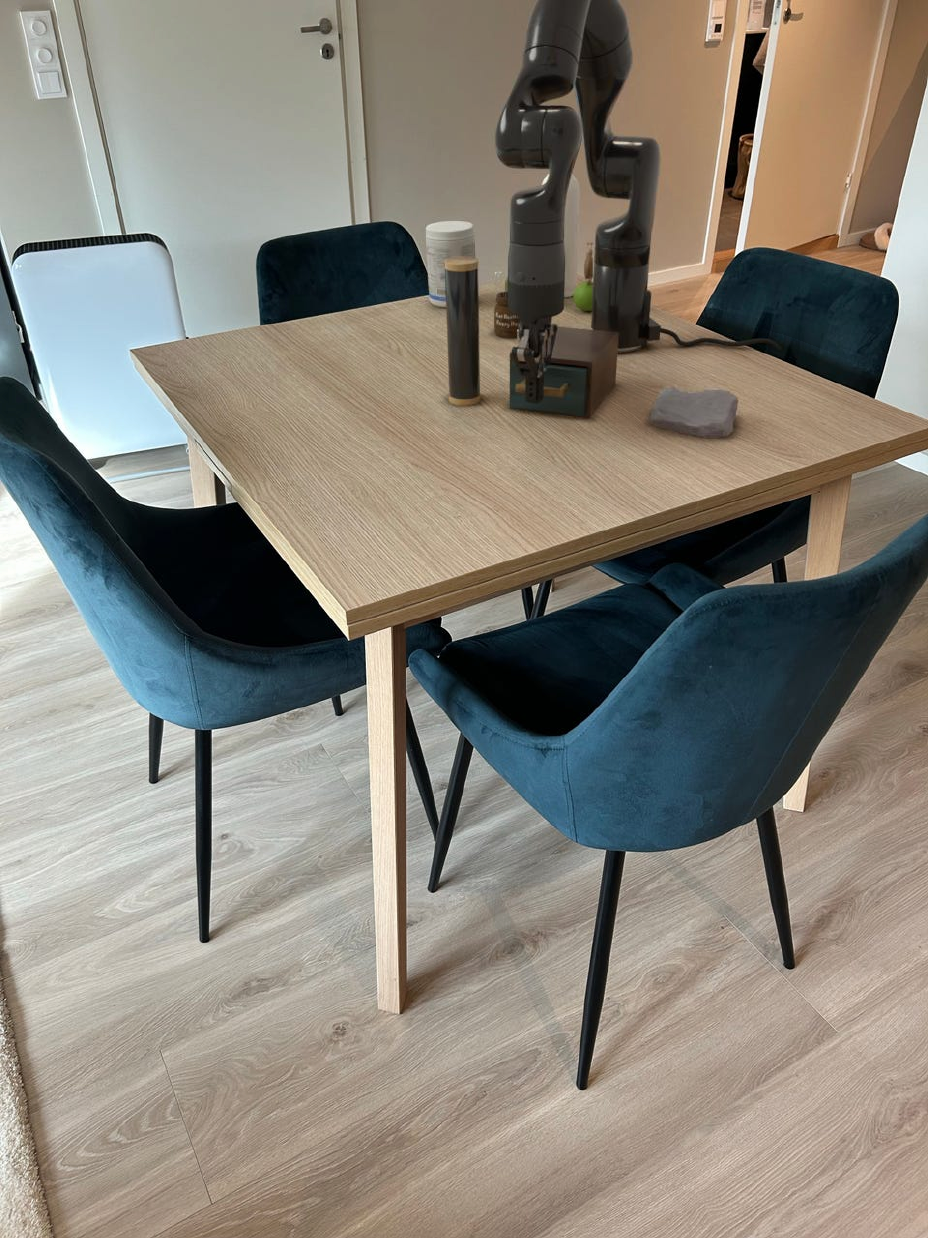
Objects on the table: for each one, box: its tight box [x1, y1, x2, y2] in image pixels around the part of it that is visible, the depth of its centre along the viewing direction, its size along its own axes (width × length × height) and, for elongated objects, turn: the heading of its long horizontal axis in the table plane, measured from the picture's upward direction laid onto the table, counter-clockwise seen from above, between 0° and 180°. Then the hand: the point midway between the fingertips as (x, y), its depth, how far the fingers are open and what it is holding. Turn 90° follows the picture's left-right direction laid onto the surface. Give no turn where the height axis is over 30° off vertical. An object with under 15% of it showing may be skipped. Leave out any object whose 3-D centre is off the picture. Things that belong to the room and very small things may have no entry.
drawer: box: [509, 361, 587, 416], centre depth 146 cm, size 17×11×7 cm, turn 158°
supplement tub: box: [425, 220, 476, 309], centre depth 192 cm, size 10×10×15 cm
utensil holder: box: [493, 270, 520, 339], centre depth 175 cm, size 6×6×12 cm
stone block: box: [650, 386, 739, 439], centre depth 140 cm, size 12×5×10 cm
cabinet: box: [509, 325, 619, 420], centre depth 149 cm, size 15×13×9 cm
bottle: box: [541, 173, 581, 299], centre depth 192 cm, size 8×8×30 cm
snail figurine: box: [572, 241, 594, 312], centre depth 186 cm, size 5×6×12 cm
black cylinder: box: [444, 256, 482, 407], centre depth 146 cm, size 5×5×21 cm
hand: (534, 400), depth 138 cm, fingers closed
